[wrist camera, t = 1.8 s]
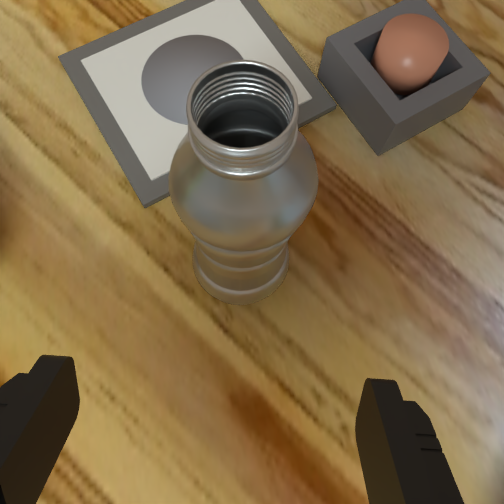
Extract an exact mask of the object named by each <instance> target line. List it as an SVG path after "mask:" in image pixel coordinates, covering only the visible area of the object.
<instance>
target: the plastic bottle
mask: <svg viewBox="0 0 504 504" xmlns="http://www.w3.org/2000/svg"><path fill="white" fill-rule="evenodd" d="M298 113H299V106H298V98H297V94H296V91H295V89H294V87H293V85H292V84H291V82H290V81H289V79H288V78H287V77H286V76H285V75H284V74H283V73H281V72H280V71H278V70H277V69H276V68H274V67H272V66H270V65H267V64H265V63H262V62H258V61H253V60H232V61H227V62H223V63H220V64H218V65H215V66H213V67H211V68H210V69H208V70H206V71H205V72H204V73H203V74H201V75H200V76H199V77H198V78H197V79H196V81H195V82H194V83H193V85H192V87H191V89H190V91H189V93H188V97H187V102H186V116H187V120H188V132H187V133H186V135H185V136H184V137H183V139H182V140H181V142H180V143H179V145H178V147H177V149H176V151H175V154H174V156H173V159H172V163H171V166H170V171H169V176H168V181H169V193H170V197H171V201H172V203H173V205H174V207H175V209H176V211H177V213H178V215H179V217H180V219H181V221H182V222H183V223H184V225H185V226H186V227H187V228H188V230H189V231H190V232H191V233H192V235H193V236H194V238H195V240H196V242H195V245H194V251H193V269H194V272H195V276H196V278H197V280H198V282H199V283H200V285H201V286H202V287H203V288H204V290H205V291H207V292H208V293H209V294H210V295H211V296H213V297H215V298H217V299H219V300H220V301H222V302H225V303H229V304H234V305H246V304H251V303H255V302H258V301H260V300H262V299H264V298H266V297H268V296H269V295H270V294H272V293H273V292H274V291H275V290H276V289H277V288H278V287H279V286H280V285H281V283H282V282H283V280H284V278H285V276H286V273H287V270H288V266H289V249H288V243H287V242H288V240H289V238H290V237H291V235H292V234H293V233H294V232H295V231H296V230H297V229H298V228H299V226H300V225H301V224H302V223H303V221H304V220H305V218H306V216H307V215H308V213H309V211H310V210H311V208H312V206H313V204H314V201H315V198H316V195H317V190H318V173H317V166H316V162H315V158H314V155H313V152H312V150H311V147H310V145H309V144H308V142H307V140H306V139H305V137H304V136H303V135H302V134H301V133H300V132H299V131H298V123H297V120H298Z"/></svg>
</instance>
